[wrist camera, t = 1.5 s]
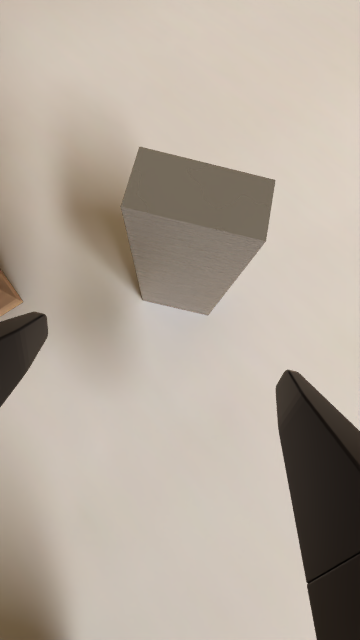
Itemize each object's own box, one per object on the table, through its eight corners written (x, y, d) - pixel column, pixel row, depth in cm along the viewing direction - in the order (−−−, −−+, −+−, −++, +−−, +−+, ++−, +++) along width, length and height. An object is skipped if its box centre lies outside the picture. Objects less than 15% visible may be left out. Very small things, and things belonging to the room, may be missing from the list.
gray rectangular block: (208, 315, 23) (265, 241, 10) (142, 300, 23) (120, 206, 10) (214, 284, 24) (275, 180, 11) (150, 269, 24) (139, 146, 11)
